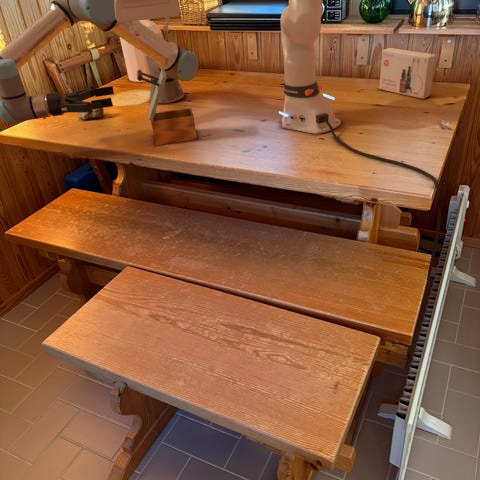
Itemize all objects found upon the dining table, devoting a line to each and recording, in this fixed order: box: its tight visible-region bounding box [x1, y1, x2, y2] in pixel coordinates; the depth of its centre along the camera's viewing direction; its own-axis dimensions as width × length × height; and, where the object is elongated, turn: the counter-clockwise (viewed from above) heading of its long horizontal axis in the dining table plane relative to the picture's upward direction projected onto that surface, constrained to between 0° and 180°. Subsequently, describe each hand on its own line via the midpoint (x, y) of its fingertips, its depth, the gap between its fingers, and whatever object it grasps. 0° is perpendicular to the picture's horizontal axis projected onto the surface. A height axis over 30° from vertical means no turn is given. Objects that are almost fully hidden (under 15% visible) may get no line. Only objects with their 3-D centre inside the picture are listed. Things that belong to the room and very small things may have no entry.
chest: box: [150, 107, 198, 146], centre depth 167 cm, size 15×9×9 cm, turn 101°
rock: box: [78, 108, 105, 121], centre depth 195 cm, size 11×6×10 cm
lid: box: [137, 70, 166, 121], centre depth 159 cm, size 16×9×9 cm
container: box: [119, 19, 163, 83], centre depth 235 cm, size 21×21×28 cm
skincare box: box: [378, 47, 437, 100], centre depth 184 cm, size 21×6×16 cm, turn 40°
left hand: (112, 95), depth 157 cm, fingers open, 13 cm apart
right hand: (151, 34), depth 149 cm, fingers open, 8 cm apart
